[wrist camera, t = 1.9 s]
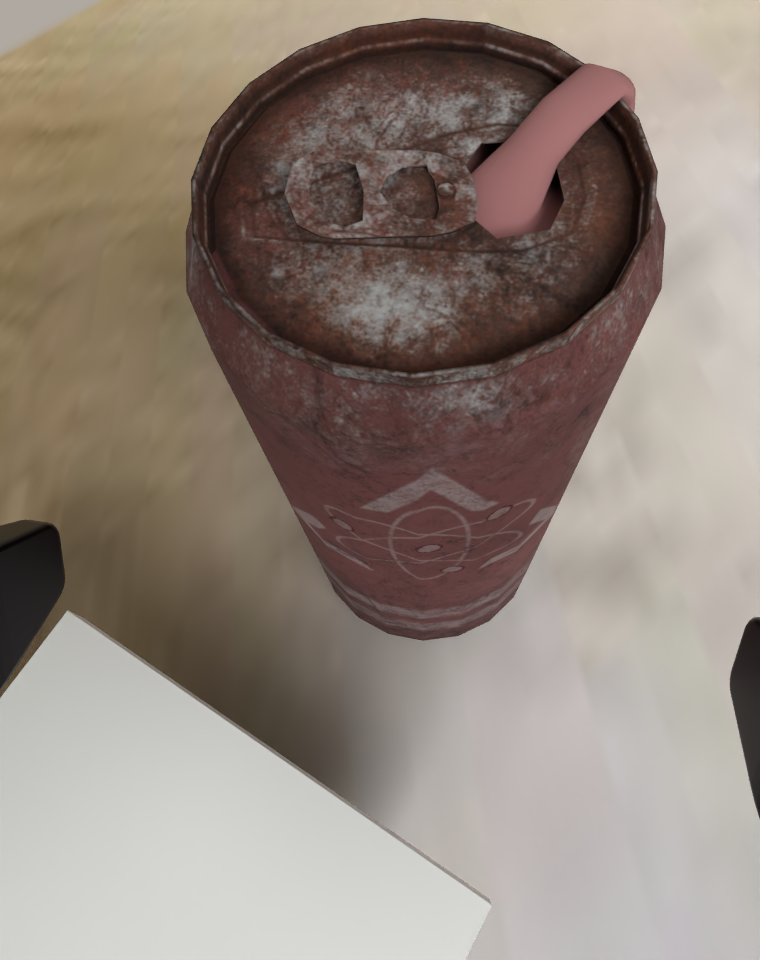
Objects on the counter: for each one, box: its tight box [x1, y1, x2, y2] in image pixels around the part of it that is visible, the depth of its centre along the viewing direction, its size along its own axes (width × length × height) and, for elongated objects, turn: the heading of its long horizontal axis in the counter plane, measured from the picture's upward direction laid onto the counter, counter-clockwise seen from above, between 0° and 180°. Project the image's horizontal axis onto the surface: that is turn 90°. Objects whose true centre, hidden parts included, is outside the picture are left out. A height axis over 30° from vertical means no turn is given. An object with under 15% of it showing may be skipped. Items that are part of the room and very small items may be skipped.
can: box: [186, 18, 665, 640], centre depth 15 cm, size 6×6×14 cm
